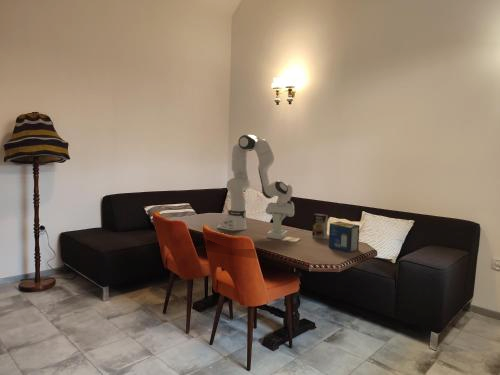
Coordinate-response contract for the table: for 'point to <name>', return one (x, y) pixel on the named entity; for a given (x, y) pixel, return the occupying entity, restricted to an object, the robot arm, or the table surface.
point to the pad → (291, 239)
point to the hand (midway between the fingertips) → (277, 219)
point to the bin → (276, 235)
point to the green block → (277, 223)
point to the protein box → (344, 236)
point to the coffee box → (320, 226)
